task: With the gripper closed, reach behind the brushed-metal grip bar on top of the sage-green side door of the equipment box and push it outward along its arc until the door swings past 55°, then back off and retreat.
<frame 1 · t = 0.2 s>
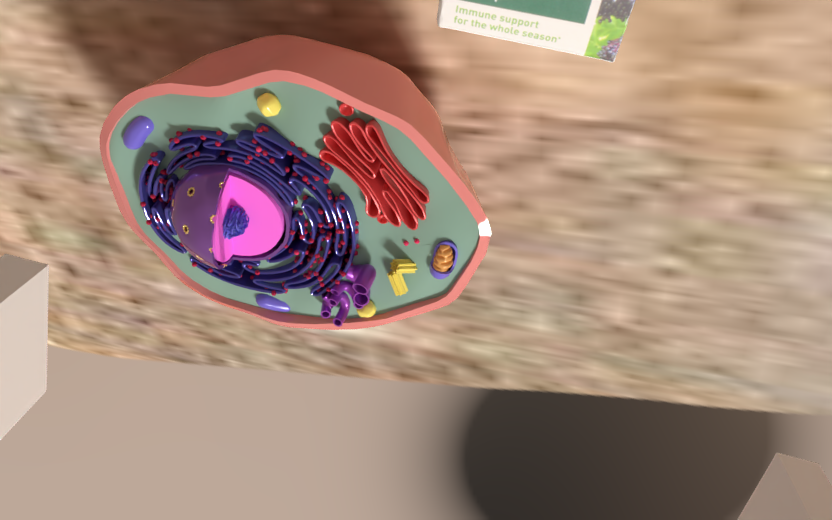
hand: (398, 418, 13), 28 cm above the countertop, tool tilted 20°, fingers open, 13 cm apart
cell model: (334, 127, 44), on the countertop
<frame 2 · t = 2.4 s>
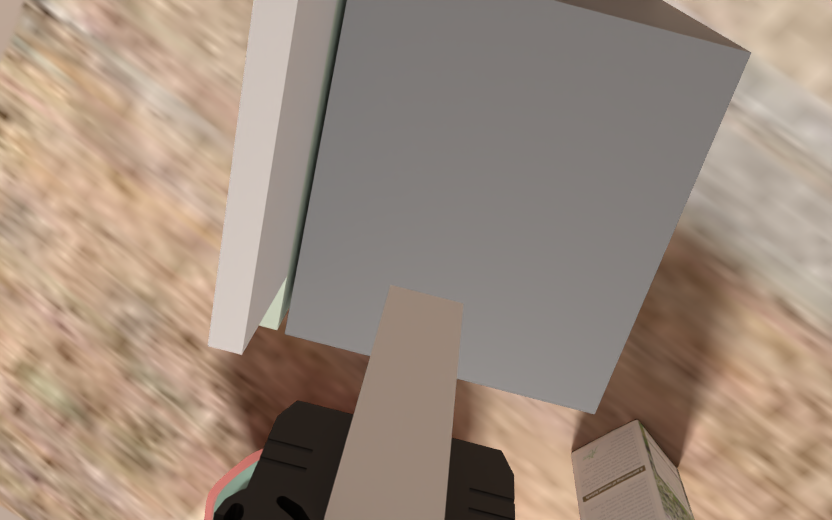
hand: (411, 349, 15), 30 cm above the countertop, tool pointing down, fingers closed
side door: (320, 124, 33), point 11 cm above the countertop, hinge at 0.0°
syrup box: (624, 458, 53), on the countertop
cell model: (359, 477, 57), on the countertop
equipment box: (493, 109, 43), on the countertop
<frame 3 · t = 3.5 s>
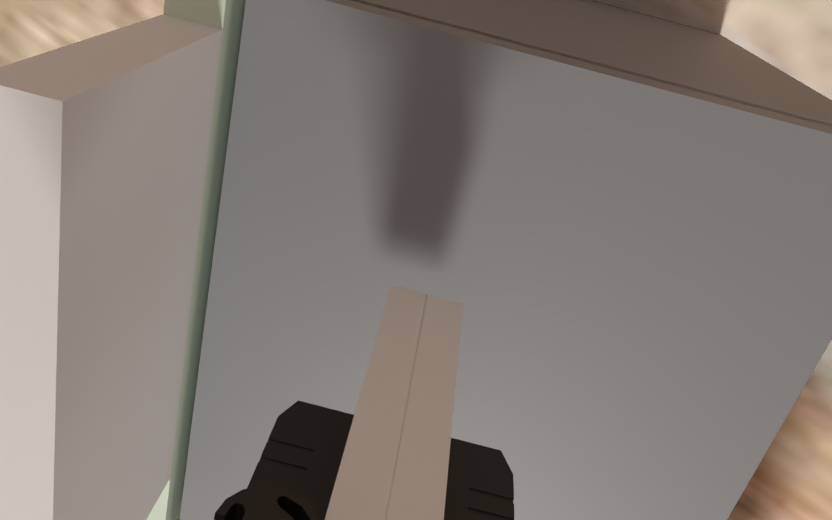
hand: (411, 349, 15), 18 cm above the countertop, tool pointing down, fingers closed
side door: (232, 231, 22), point 11 cm above the countertop, hinge at 0.0°
equipment box: (490, 177, 33), on the countertop
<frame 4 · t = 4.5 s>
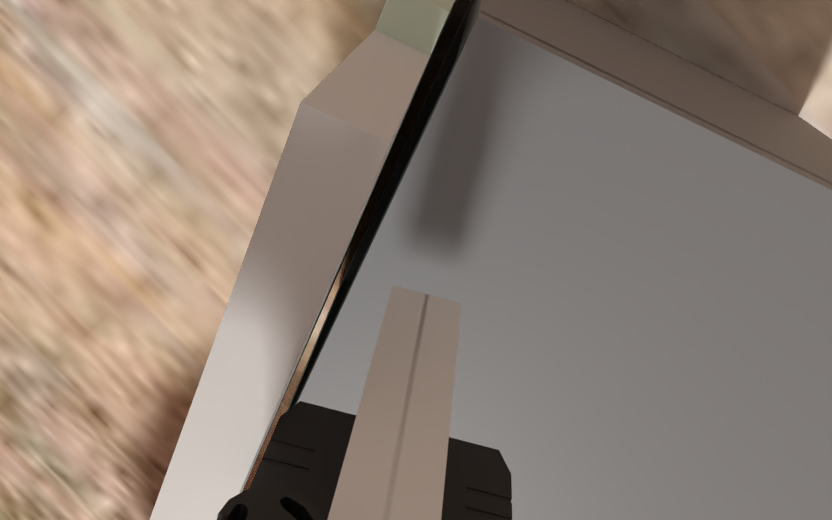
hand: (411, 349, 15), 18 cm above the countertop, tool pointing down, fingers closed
side door: (332, 233, 22), point 11 cm above the countertop, hinge at 0.9°, touching gripper
equipment box: (549, 209, 33), on the countertop
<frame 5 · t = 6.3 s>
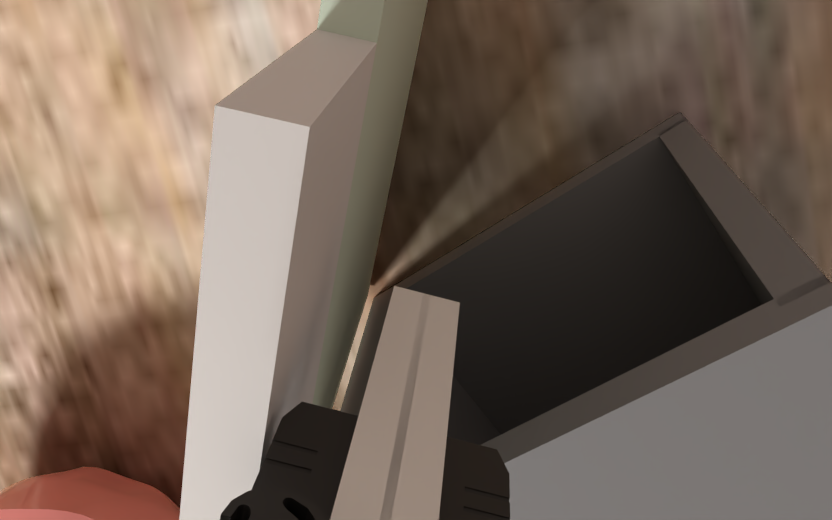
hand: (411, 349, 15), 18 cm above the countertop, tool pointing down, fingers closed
side door: (338, 242, 22), point 11 cm above the countertop, hinge at 42.4°, touching gripper
equipment box: (595, 325, 35), on the countertop
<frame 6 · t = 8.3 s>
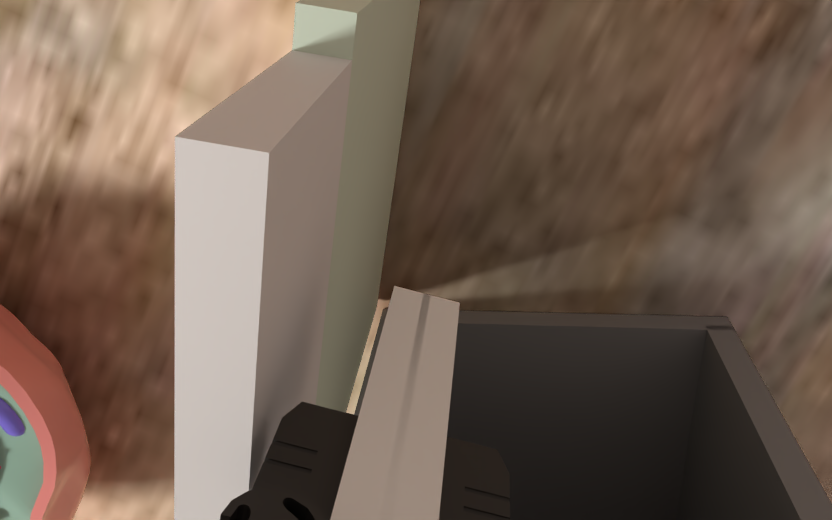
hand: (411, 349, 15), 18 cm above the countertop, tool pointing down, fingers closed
side door: (336, 257, 22), point 11 cm above the countertop, hinge at 80.1°, touching gripper
equipment box: (544, 431, 38), on the countertop
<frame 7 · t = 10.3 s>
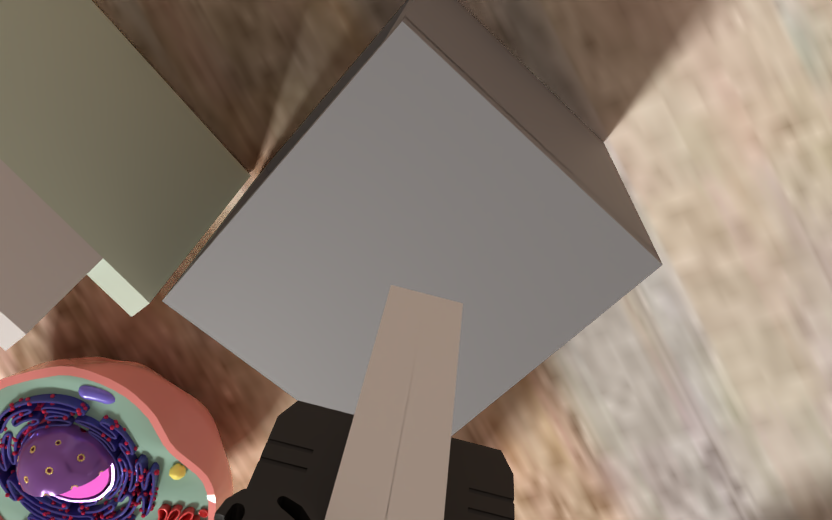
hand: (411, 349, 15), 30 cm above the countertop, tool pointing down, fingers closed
side door: (61, 137, 35), point 11 cm above the countertop, hinge at 80.1°
cell model: (143, 415, 57), on the countertop
equipment box: (426, 159, 46), on the countertop
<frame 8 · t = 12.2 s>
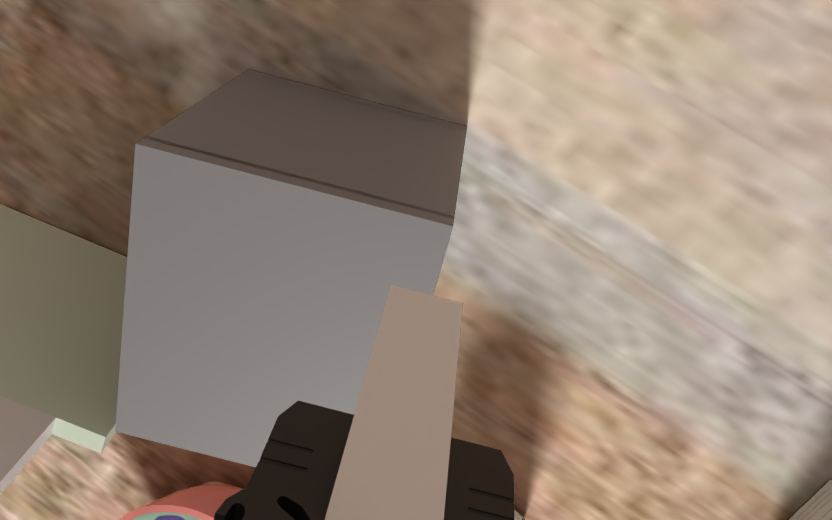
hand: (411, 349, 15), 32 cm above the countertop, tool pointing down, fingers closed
side door: (15, 337, 43), point 11 cm above the countertop, hinge at 80.1°
equipment box: (334, 213, 50), on the countertop
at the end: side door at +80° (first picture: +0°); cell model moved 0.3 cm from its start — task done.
